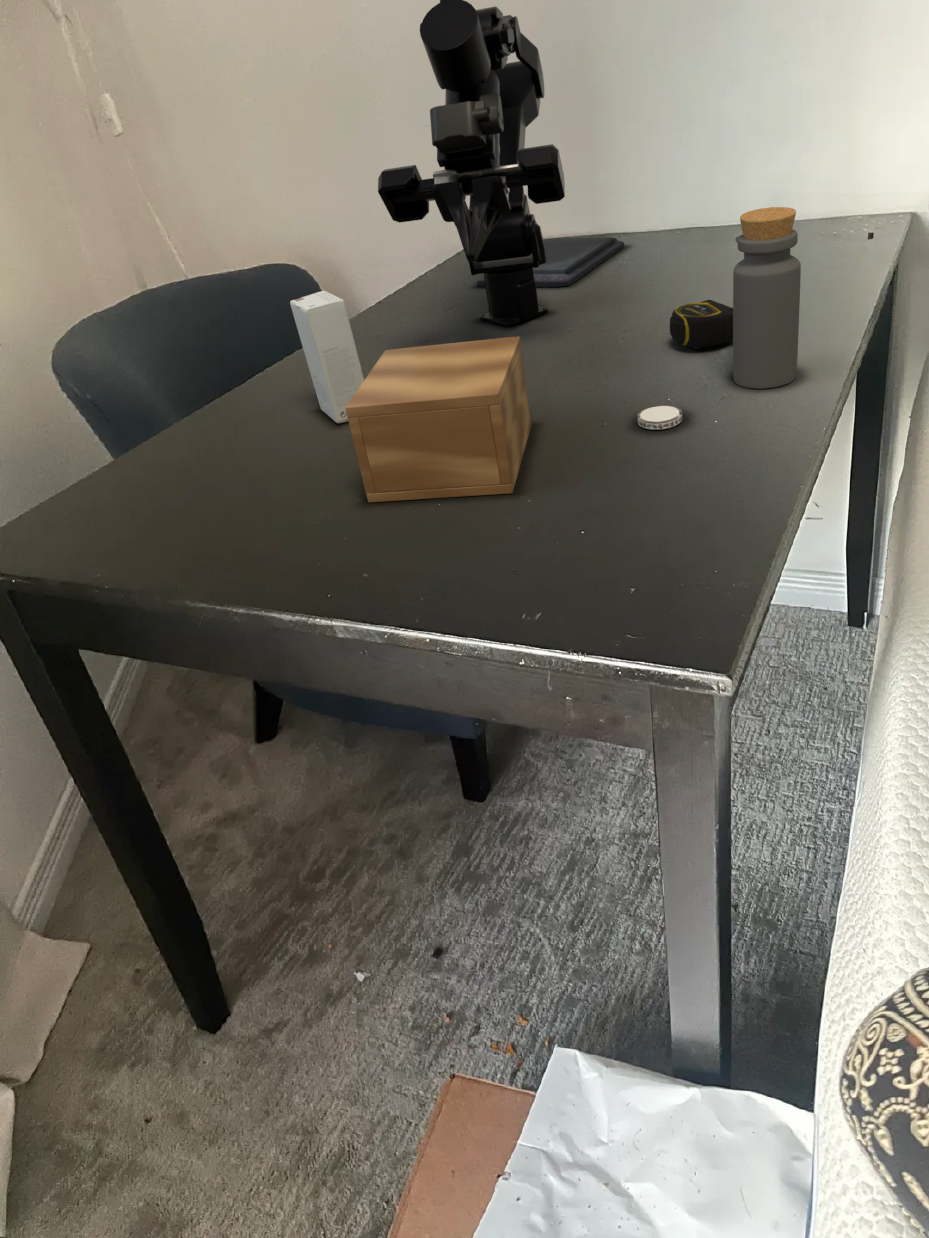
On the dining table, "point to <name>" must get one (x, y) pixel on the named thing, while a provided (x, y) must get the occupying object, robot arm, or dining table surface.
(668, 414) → the cream flat disc
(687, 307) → the tape measure
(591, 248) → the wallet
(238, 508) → the dining table surface
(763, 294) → the bottle
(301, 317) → the cosmetic box
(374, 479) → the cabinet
